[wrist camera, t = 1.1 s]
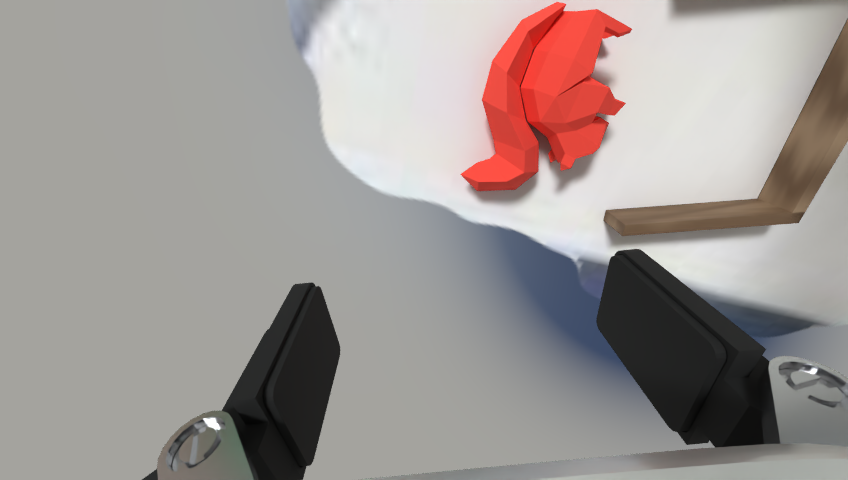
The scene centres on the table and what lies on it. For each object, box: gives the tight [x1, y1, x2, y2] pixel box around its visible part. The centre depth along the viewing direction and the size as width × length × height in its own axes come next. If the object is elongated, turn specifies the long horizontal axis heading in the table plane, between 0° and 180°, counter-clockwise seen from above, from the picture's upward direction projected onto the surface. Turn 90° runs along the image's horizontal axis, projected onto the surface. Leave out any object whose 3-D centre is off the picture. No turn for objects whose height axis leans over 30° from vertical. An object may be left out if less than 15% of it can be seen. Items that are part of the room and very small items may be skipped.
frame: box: [604, 20, 848, 236], centre depth 26 cm, size 22×17×4 cm
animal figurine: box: [461, 2, 632, 191], centre depth 26 cm, size 12×15×5 cm
